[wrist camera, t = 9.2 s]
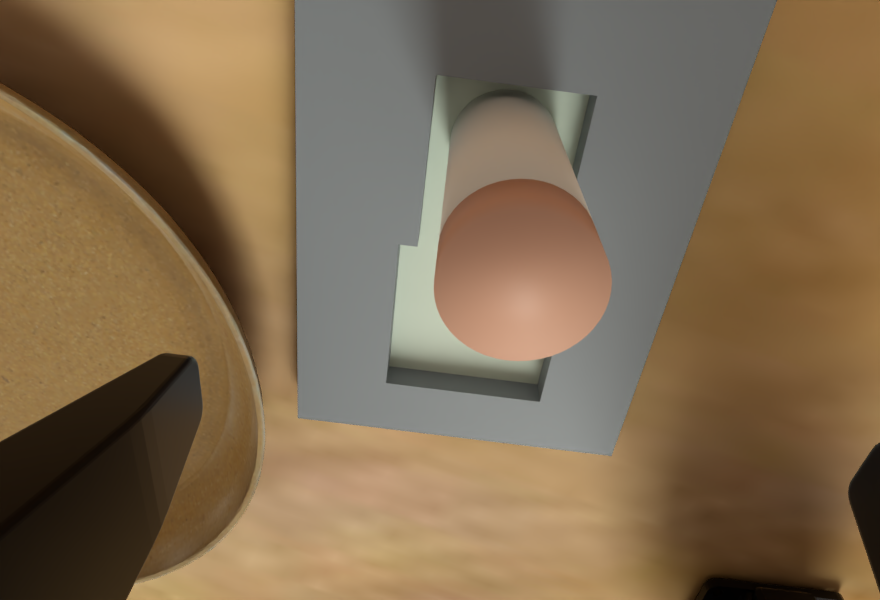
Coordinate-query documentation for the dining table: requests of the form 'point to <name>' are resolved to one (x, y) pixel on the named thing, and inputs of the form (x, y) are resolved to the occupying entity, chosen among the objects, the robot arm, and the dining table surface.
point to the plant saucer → (117, 316)
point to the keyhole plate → (423, 183)
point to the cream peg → (516, 235)
